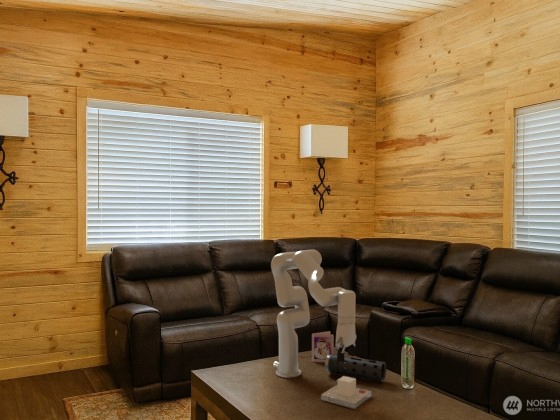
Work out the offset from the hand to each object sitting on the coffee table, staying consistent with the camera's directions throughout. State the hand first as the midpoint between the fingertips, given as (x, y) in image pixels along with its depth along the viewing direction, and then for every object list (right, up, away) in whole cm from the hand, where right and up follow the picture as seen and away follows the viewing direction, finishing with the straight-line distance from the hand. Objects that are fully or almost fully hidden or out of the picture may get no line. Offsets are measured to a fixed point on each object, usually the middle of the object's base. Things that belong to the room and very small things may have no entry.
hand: (346, 358), depth 217 cm
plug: (0, -17, 0) cm, 17 cm away
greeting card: (-6, -16, +51) cm, 54 cm away
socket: (0, -18, 0) cm, 18 cm away
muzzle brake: (+8, -17, +24) cm, 31 cm away
